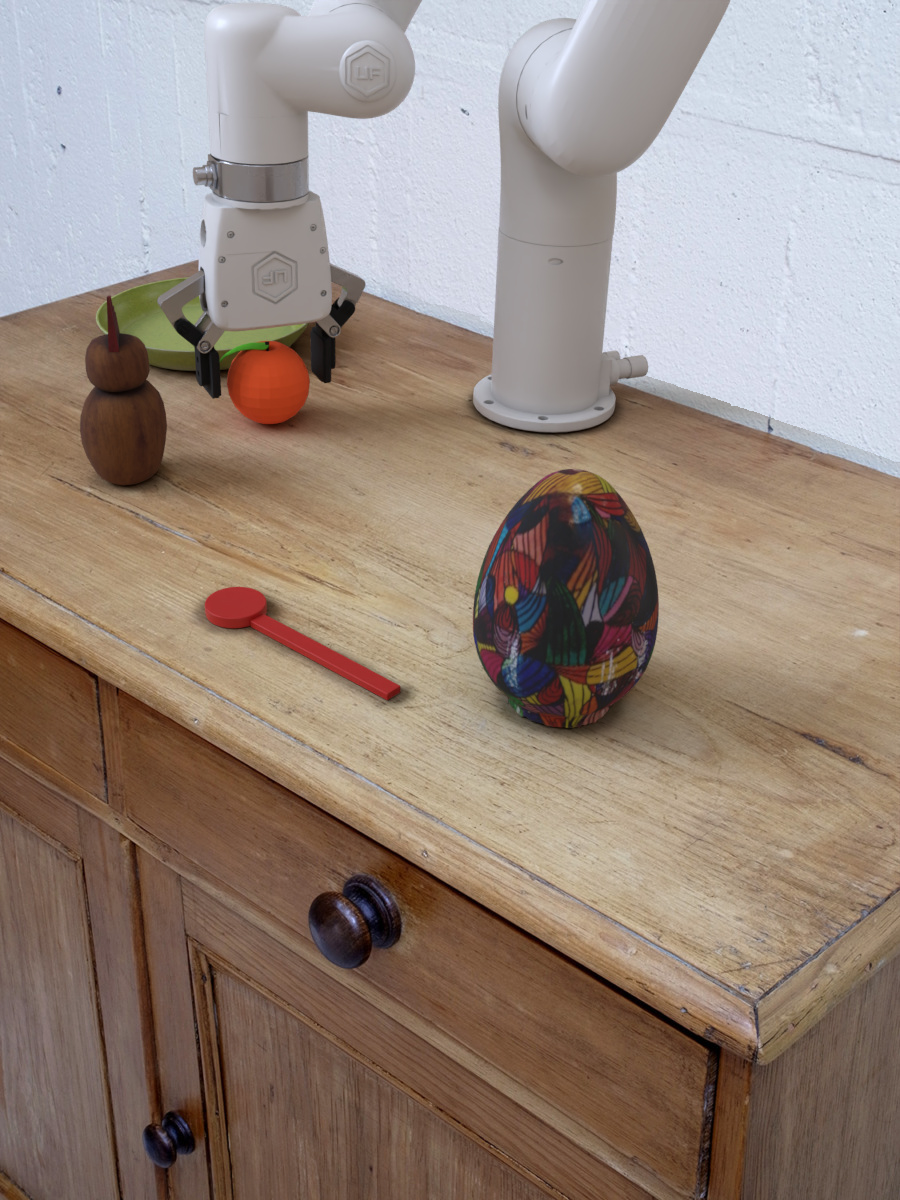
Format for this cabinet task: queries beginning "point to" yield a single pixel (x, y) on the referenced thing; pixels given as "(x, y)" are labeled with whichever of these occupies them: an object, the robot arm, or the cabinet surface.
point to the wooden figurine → (121, 408)
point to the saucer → (163, 341)
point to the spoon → (288, 636)
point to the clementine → (267, 381)
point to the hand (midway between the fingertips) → (267, 384)
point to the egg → (566, 601)
